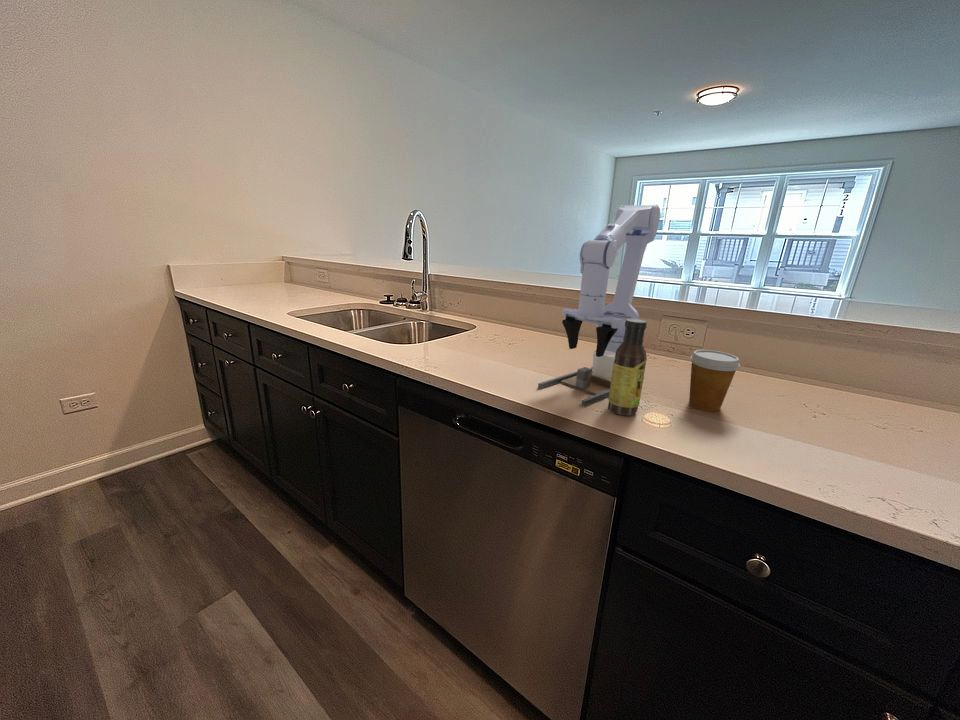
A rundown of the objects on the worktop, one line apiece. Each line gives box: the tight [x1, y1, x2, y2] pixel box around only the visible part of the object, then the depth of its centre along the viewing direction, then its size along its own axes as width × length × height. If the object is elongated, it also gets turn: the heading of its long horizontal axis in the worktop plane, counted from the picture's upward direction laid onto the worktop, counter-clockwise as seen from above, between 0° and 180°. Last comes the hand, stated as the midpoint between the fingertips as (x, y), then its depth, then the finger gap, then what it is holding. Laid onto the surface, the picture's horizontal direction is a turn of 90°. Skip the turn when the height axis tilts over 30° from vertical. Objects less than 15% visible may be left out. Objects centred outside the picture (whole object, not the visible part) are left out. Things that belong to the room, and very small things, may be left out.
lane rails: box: [537, 370, 610, 407], centre depth 97 cm, size 18×13×1 cm
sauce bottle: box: [607, 318, 648, 416], centre depth 83 cm, size 6×6×20 cm
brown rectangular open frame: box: [560, 366, 611, 396], centre depth 100 cm, size 15×11×5 cm
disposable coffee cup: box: [688, 349, 741, 412], centre depth 88 cm, size 10×10×12 cm
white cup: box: [592, 350, 616, 381], centre depth 102 cm, size 7×7×7 cm
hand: (585, 352), depth 94 cm, fingers open, 7 cm apart
